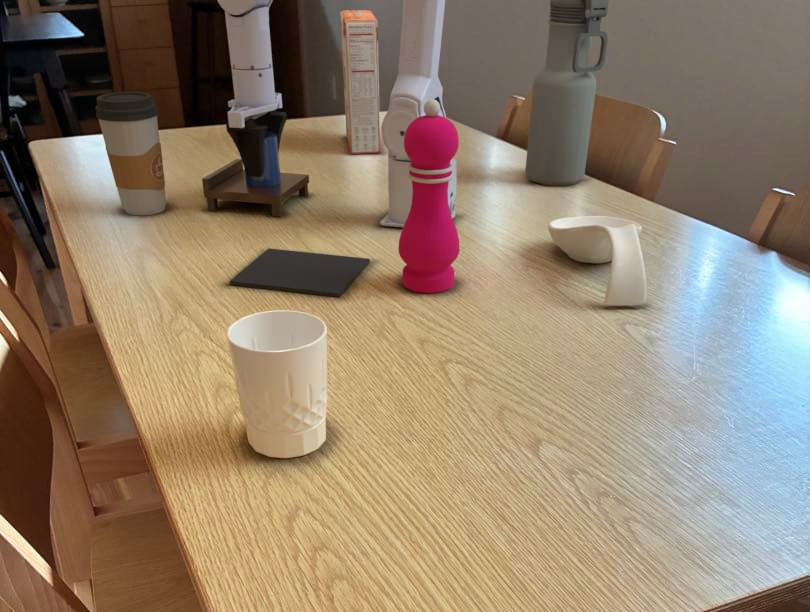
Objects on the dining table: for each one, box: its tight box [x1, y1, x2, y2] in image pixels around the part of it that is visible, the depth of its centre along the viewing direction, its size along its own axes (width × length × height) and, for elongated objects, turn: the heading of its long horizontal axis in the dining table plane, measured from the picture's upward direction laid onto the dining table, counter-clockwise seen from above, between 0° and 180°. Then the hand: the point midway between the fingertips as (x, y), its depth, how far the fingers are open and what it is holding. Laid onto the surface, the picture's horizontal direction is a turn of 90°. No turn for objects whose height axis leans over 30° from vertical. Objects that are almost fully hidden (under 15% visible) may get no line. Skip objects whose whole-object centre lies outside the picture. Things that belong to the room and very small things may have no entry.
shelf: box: [201, 158, 310, 218], centre depth 122 cm, size 12×12×4 cm
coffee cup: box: [95, 91, 167, 216], centre depth 116 cm, size 8×8×15 cm
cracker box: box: [339, 9, 382, 155], centre depth 146 cm, size 14×6×21 cm, turn 6°
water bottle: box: [524, 0, 609, 187], centre depth 126 cm, size 10×10×28 cm
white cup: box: [226, 309, 329, 459], centre depth 67 cm, size 8×8×10 cm
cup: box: [243, 132, 281, 187], centre depth 119 cm, size 5×5×7 cm
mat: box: [229, 248, 371, 298], centre depth 100 cm, size 14×12×1 cm
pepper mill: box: [398, 99, 460, 294], centre depth 92 cm, size 7×7×20 cm
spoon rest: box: [547, 215, 647, 307], centre depth 99 cm, size 24×12×7 cm, turn 3°
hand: (262, 171), depth 120 cm, fingers closed on cup, 5 cm apart
